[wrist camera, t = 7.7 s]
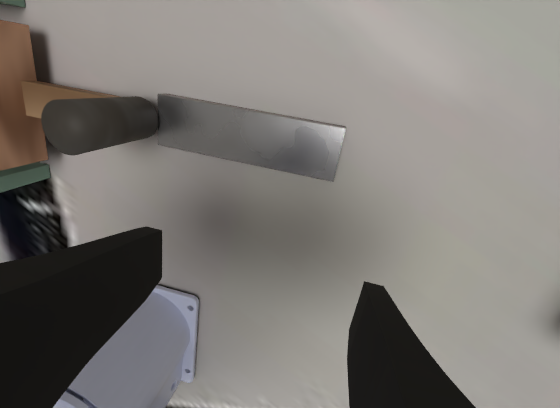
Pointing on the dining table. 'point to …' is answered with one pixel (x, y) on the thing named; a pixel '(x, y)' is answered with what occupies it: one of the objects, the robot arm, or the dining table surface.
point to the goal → (24, 173)
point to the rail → (250, 136)
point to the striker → (58, 110)
